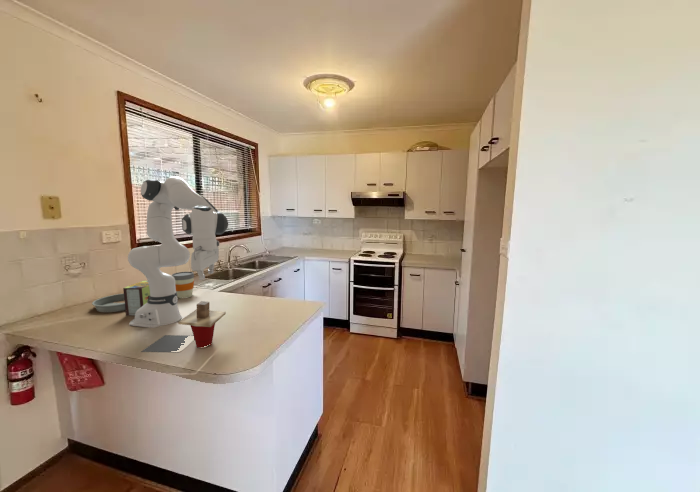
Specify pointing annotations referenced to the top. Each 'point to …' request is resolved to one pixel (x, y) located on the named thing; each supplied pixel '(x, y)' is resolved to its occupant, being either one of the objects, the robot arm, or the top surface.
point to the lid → (202, 316)
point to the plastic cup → (203, 335)
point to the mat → (166, 344)
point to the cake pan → (110, 303)
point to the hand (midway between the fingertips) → (206, 276)
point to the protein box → (135, 297)
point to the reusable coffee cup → (184, 284)
